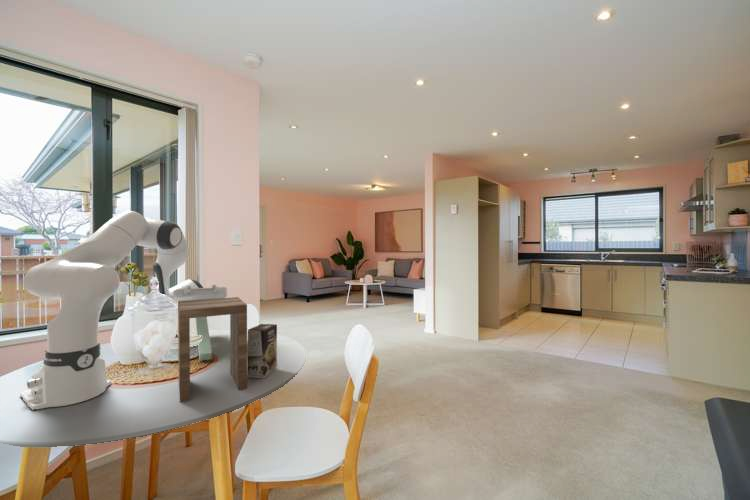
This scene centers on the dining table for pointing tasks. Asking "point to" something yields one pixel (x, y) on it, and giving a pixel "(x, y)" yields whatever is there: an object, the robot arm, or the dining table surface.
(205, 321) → the bar
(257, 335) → the coffee box
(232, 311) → the stand
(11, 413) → the dining table surface
